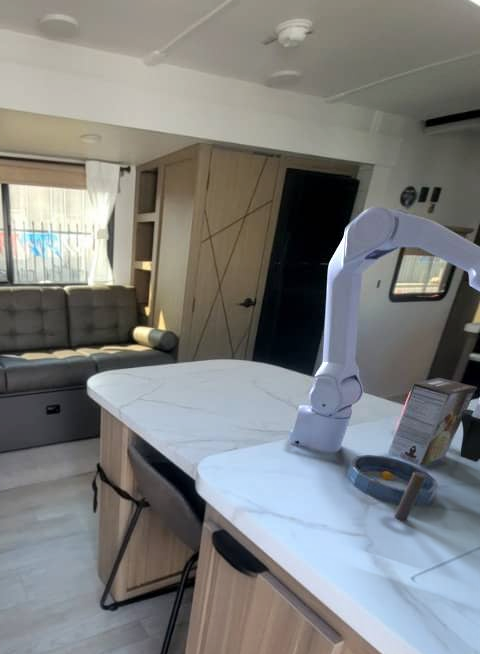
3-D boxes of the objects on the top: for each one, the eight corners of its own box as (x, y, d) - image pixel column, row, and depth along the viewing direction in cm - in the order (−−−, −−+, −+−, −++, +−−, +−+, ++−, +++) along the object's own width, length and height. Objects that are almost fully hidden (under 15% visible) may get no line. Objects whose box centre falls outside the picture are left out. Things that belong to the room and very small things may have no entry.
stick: (385, 527, 62) (407, 476, 58) (384, 516, 64) (405, 466, 60) (411, 534, 60) (435, 482, 56) (408, 523, 63) (431, 472, 59)
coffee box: (408, 448, 86) (439, 376, 79) (443, 462, 81) (478, 386, 74) (383, 457, 82) (413, 382, 75) (417, 472, 77) (453, 393, 70)
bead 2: (378, 482, 72) (381, 473, 72) (377, 477, 74) (381, 468, 73) (391, 485, 72) (395, 476, 71) (390, 480, 73) (394, 471, 72)
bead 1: (366, 491, 70) (370, 481, 69) (365, 485, 71) (369, 476, 70) (379, 494, 69) (383, 485, 68) (379, 489, 70) (382, 479, 70)
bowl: (344, 498, 68) (352, 478, 67) (344, 467, 78) (351, 448, 76) (433, 522, 63) (443, 501, 61) (421, 485, 73) (430, 466, 71)
